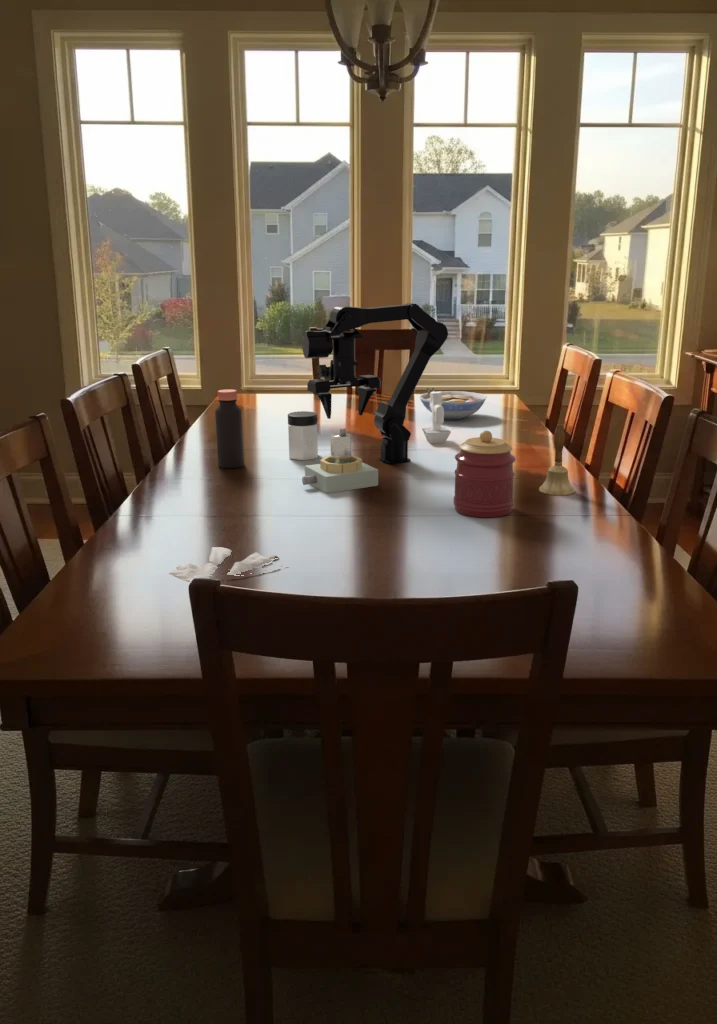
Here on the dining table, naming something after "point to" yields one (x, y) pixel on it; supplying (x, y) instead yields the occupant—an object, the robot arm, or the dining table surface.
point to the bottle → (229, 430)
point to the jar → (302, 435)
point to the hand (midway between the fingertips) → (344, 416)
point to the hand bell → (557, 469)
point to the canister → (484, 477)
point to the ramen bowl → (456, 403)
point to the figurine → (436, 421)
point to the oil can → (341, 447)
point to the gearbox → (340, 475)
